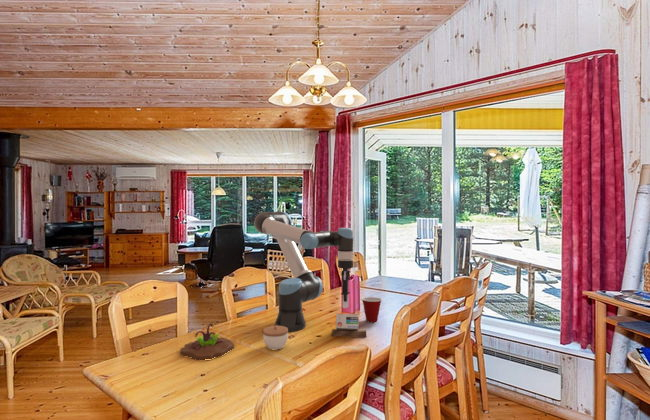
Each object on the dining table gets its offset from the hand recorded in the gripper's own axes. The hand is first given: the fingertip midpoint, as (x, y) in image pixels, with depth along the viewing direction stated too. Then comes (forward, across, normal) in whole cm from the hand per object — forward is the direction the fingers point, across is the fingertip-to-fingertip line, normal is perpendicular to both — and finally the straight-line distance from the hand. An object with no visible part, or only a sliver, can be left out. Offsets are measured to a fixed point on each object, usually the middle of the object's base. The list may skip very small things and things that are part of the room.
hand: (345, 307), depth 177 cm
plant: (+12, -32, +56) cm, 65 cm away
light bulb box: (+8, 0, -1) cm, 8 cm away
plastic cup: (+11, +15, -13) cm, 23 cm away
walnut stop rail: (+11, -8, -2) cm, 14 cm away
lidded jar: (+11, -26, +28) cm, 40 cm away
